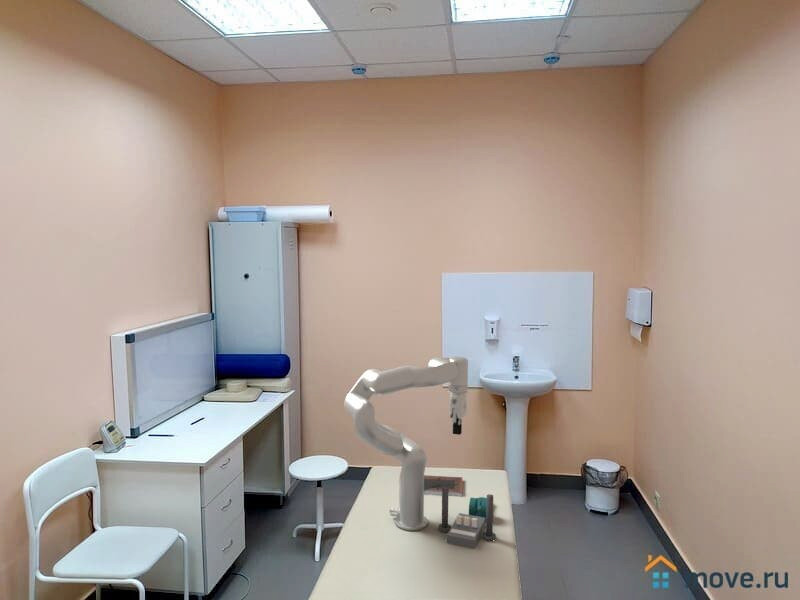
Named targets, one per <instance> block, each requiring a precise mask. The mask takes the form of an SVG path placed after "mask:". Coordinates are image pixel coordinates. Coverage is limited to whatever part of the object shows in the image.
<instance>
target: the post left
mask: <svg viewBox="0 0 800 600" xmlns="http://www.w3.org/2000/svg"><path fill="white" fill-rule="evenodd" d="M448 493H449V488H447V487H443V488H442V495H441V523H439V524H438V526H437V529H438V532H440V533H441V534H442V533H443V534H447V533H448V532H449V530H450V528H451V527H452V525H451V524H449V496H448Z"/></svg>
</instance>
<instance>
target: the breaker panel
mask: <svg viewBox="0 0 800 600" xmlns="http://www.w3.org/2000/svg"><path fill="white" fill-rule="evenodd" d="M458 515H460V516H462V517H470V518H471V519H472V518H476V519H478V520H477V528H474V527H472V521H470V525H469V526H464V520H462V524H461V525H458V524H456V519H455V520H454V522H453V523H452V525H451V528H450V530H449V532H448V533H446V543H447V544H452V545H456V546H462V547H466V548H470V549H476V548H477V544H478V543H479V540H480V538H481V536H482V534H483V532H484V529H485V528H486V523H485V521H486V518H484V517H479V516H473V515H469V513H468V514H466V513H461V512H459V513H458ZM481 533H482V534H481Z"/></svg>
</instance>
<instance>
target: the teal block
mask: <svg viewBox="0 0 800 600" xmlns="http://www.w3.org/2000/svg"><path fill="white" fill-rule="evenodd" d="M486 508H487V497H484V496H483V497H482V496H480V497H470V499H469V503H468V515H473V516H479V517H484V518H486ZM485 524H486V521H485Z"/></svg>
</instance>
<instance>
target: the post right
mask: <svg viewBox="0 0 800 600" xmlns="http://www.w3.org/2000/svg"><path fill="white" fill-rule="evenodd" d="M486 498H487V508H486V523H485V531H483V532H482V534H481V536H482V537H481V538H482V540H483V539H484V540H483V541H485V540H486V541H485V542H489V541H492V542H494V541H493V540H495V539H496V540H497V534H496V533H495V532H493V528H494V527H493V526H494V525H493V524H494V495H493V494H490V493H489V494H487V495H486ZM496 540H495V541H496Z"/></svg>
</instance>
